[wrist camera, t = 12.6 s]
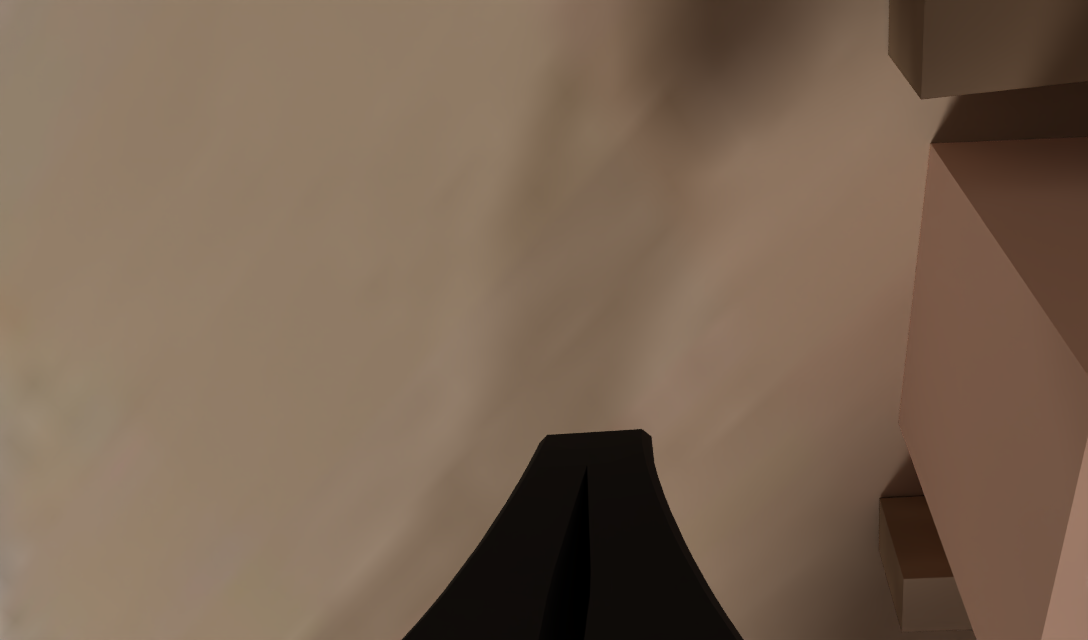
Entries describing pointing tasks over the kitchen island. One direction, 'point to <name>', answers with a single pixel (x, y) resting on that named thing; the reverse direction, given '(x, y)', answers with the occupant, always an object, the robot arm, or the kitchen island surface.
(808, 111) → the kitchen island surface
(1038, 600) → the terracotta jar
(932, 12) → the lane
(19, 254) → the kitchen island surface
